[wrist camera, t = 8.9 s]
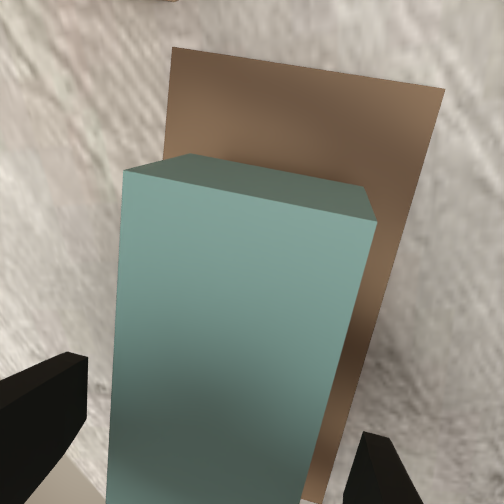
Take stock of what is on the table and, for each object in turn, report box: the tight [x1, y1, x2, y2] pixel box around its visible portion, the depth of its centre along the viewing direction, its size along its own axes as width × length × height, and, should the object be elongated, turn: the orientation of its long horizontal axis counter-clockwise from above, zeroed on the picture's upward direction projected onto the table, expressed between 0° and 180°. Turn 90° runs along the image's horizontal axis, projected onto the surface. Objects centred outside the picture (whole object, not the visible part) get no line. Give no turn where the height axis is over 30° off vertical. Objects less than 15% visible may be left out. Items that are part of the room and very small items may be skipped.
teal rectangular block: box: [106, 153, 377, 504], centre depth 12 cm, size 12×5×4 cm, turn 170°
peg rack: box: [163, 47, 445, 504], centre depth 15 cm, size 18×9×4 cm, turn 170°
